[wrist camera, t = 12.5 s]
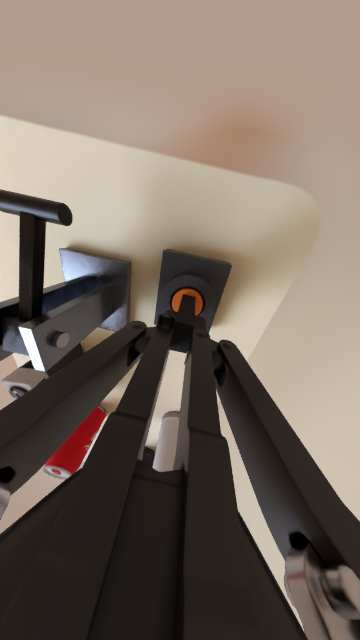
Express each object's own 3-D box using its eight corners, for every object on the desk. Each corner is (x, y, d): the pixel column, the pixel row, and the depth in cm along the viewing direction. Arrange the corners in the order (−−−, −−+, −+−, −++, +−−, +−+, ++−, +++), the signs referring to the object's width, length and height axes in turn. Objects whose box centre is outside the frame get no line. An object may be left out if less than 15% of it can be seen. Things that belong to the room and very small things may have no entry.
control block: (166, 249, 19) (159, 251, 16) (228, 262, 19) (235, 268, 16) (157, 317, 24) (150, 331, 20) (207, 328, 24) (208, 344, 20)
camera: (111, 392, 34) (81, 445, 26) (77, 387, 35) (36, 437, 26) (99, 343, 28) (53, 391, 19) (57, 338, 28) (-7, 382, 20)
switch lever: (18, 199, 12) (-21, 178, 10) (77, 212, 12) (52, 194, 10) (17, 337, 15) (-15, 346, 12) (67, 348, 15) (44, 359, 12)
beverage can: (87, 415, 40) (48, 477, 30) (80, 400, 37) (33, 464, 27) (109, 417, 40) (77, 482, 29) (104, 403, 37) (66, 469, 26)
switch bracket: (66, 247, 20) (-98, 258, 9) (131, 262, 20) (47, 290, 9) (77, 318, 26) (-18, 380, 14) (129, 329, 26) (74, 400, 14)
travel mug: (191, 413, 35) (183, 590, 17) (185, 428, 38) (175, 590, 21) (164, 408, 35) (130, 578, 17) (161, 423, 38) (130, 580, 21)
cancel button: (176, 282, 18) (174, 286, 17) (205, 289, 18) (206, 293, 17) (171, 308, 20) (169, 314, 19) (198, 314, 20) (198, 321, 19)
